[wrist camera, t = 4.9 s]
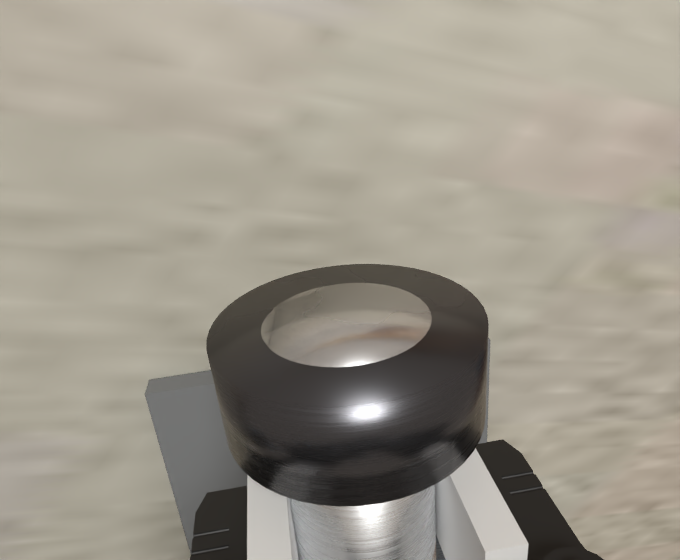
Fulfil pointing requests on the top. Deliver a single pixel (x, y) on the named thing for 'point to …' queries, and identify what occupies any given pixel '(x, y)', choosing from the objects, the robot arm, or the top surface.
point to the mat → (201, 440)
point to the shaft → (353, 401)
